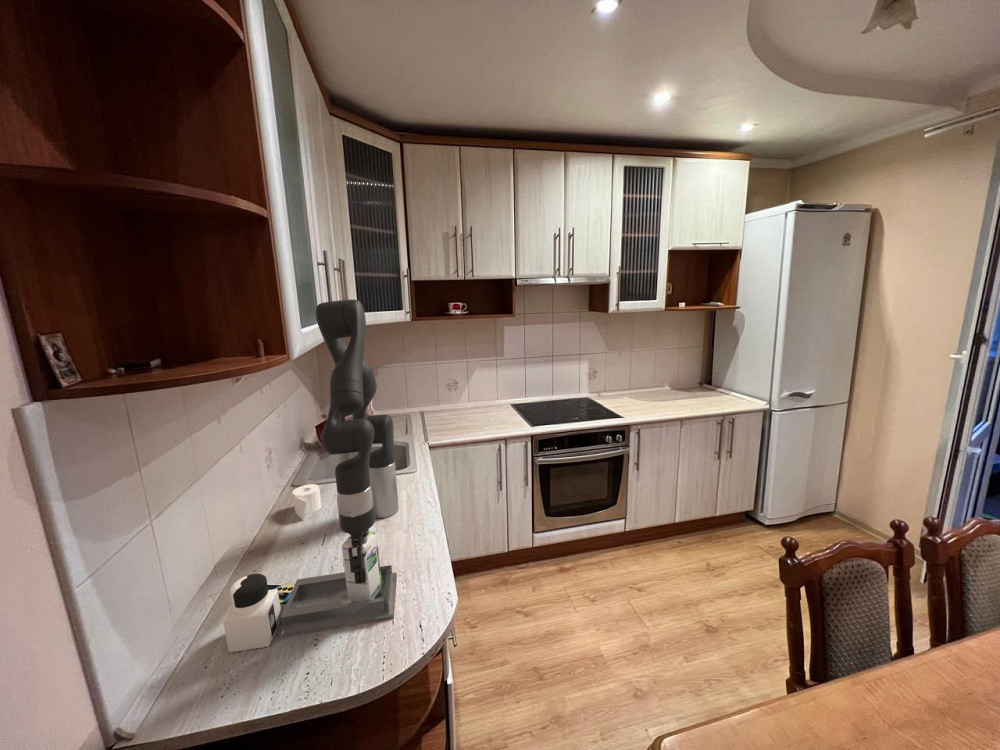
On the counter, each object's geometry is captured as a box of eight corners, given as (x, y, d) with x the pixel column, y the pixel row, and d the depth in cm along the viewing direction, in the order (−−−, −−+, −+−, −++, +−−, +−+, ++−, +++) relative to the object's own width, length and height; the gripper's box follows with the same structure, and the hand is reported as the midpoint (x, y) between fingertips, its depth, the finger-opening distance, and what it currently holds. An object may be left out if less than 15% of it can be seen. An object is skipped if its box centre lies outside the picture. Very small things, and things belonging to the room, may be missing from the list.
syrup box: (370, 604, 91) (365, 546, 88) (347, 600, 92) (340, 544, 89) (382, 586, 97) (377, 531, 94) (360, 583, 98) (354, 529, 95)
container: (282, 618, 90) (274, 566, 87) (269, 647, 82) (260, 591, 80) (245, 623, 89) (236, 571, 86) (228, 653, 81) (217, 597, 79)
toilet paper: (303, 521, 130) (300, 501, 128) (291, 508, 138) (288, 490, 136) (328, 511, 135) (326, 492, 134) (316, 500, 143) (313, 482, 142)
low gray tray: (300, 591, 98) (298, 576, 97) (396, 575, 103) (395, 562, 102) (281, 637, 85) (279, 621, 84) (394, 617, 89) (392, 602, 88)
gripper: (343, 493, 96) (350, 554, 99) (331, 525, 82) (340, 596, 86) (376, 489, 98) (382, 550, 101) (370, 520, 84) (376, 590, 87)
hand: (362, 571), depth 93 cm, fingers closed on syrup box, 7 cm apart
